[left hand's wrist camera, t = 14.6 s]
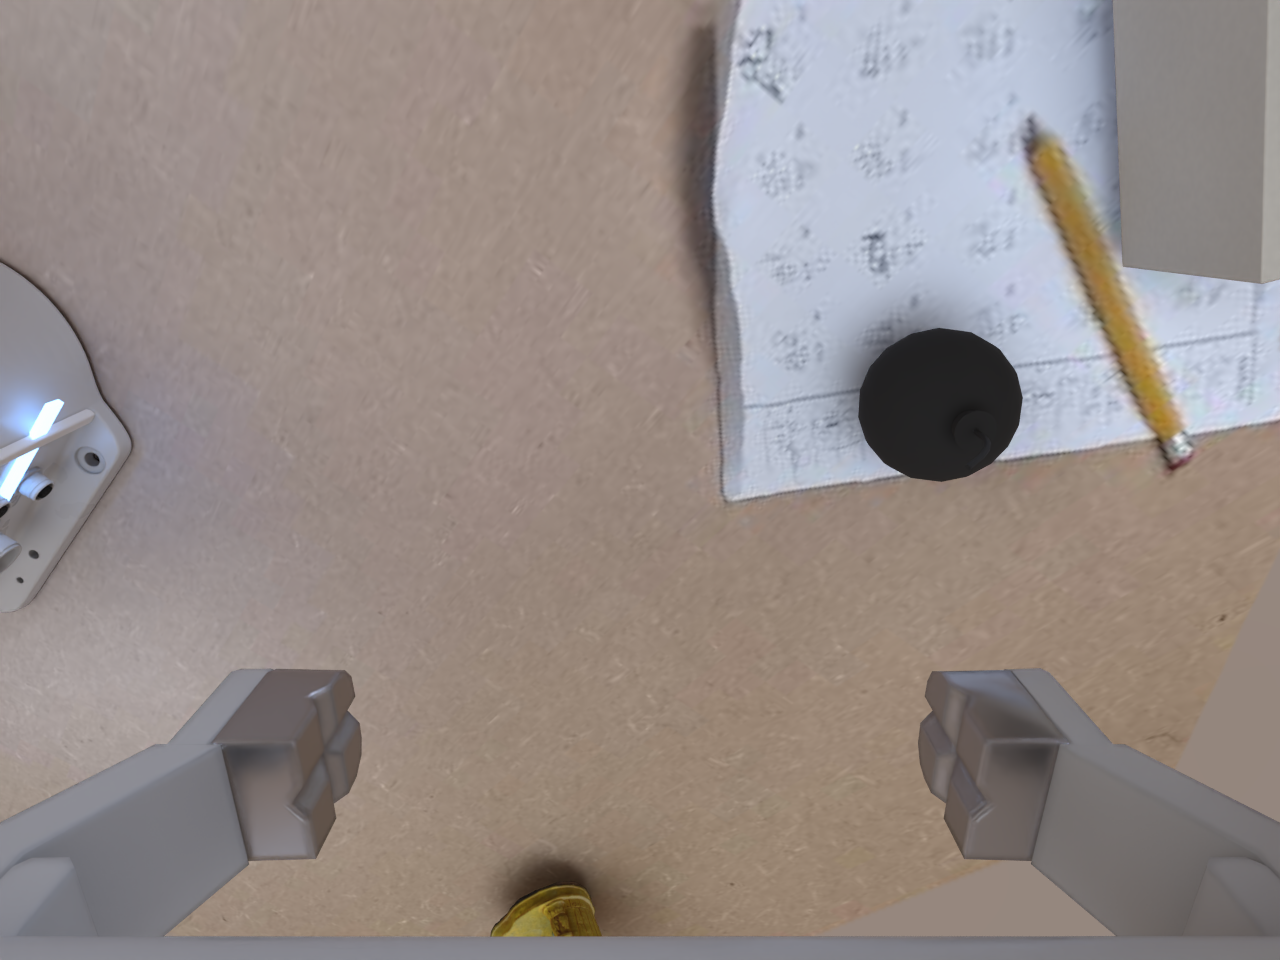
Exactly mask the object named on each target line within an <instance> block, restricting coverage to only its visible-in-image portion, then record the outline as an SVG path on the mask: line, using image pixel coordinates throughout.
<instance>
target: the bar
mask: <svg viewBox="0 0 1280 960" xmlns="http://www.w3.org/2000/svg"><path fill="white" fill-rule="evenodd" d="M1113 25H1114V52H1115V78H1116V105H1117V131H1118V158H1119V184H1120V211H1121V237H1122V264H1123V267H1131V268H1139V269H1147V270H1155V271H1163V272H1171V273H1179V274H1187V275H1195V276H1203V277H1212V278H1220V279H1228V280H1236V281H1244V282H1252V283H1260V284H1263V283H1267V282H1271V281H1275V280H1279V279H1280V0H1113Z"/></svg>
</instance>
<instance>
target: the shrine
mask: <svg viewBox="0 0 1280 960" xmlns="http://www.w3.org/2000/svg"><path fill="white" fill-rule="evenodd" d="M594 913H595V908H594V906H593V905H592V901H591V897H590V895H589V894H588V893H587V891H586V888H584V887H583V886H582V885H580V884H578V883H575V882H574V881H572V882H559V883H555V884H552V885H549V886H547V887H544V888H542V889H539V890H536V891H534V892H532V893H530V894H528V895H526V896H524V897H522V898H520V899H519V900H518V901H517V902H516V903H515V904H514V905H513V906H512V907H511V908H510V910H509V912H508V913H507V914H506V915H505V916H504V917H503V918H502V919H500V921H499V922H498V923H496V924H495V925H494V927H493V929H492V931H491V937H581V936H602V935H601V932H600V930H599V927H598V925H597V923H596V920H595V918H594Z"/></svg>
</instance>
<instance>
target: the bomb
mask: <svg viewBox="0 0 1280 960" xmlns="http://www.w3.org/2000/svg"><path fill="white" fill-rule="evenodd" d="M1022 399H1023V397H1022V393H1021V389H1020V385H1019V380H1018V376H1017V373H1016V371H1015V370H1014V368H1013V367H1012V365H1011V364H1010V363H1009V361H1008V360H1007V359H1006V357H1005V356H1004V355H1003V353H1002V352H1001V351H1000V349H998V348H997V347H996V346H994V345H992V344H991V343H989V342H987V341H985V340H984V339H982V338H980V337H978V336H977V335H975V334H973V333H971V332H964V331H957V330H950V329H943V328H936V329H932V330H927V331H922V332H918V333H913V334H911V335H908V336H907V337H905V338H903V339H902V340H900V341H898V342H897V343H895V344H893V345H892V346H890V347H888V348H887V349H886V350H885V351H884V352H883V353H882V354H881V355H880V356H879V358H878V359H877V360H876V361H875V362H874V363H873V364H872V365H871V367H870V368H869V370H868V373H867V375H866V377H865V380H864V382H863V384H862V387H861V389H860V400H859V416H858V417H859V420H860V424H861V427H862V430H863V433H864V436H865V439H866V441H867V443H868V445H869V446H870V447H871V448H872V449H873V451H874V452H875V453H876V454H877V455H878V456H879V458H880V459H881V460H882V461H883V462H884V463H885V464H886V465H888V466H890V467H891V468H893V469H895V470H897V471H899V472H901V473H903V474H905V475H907V476H909V477H910V478H917V479H924V480H932V481H940V482H942V481H947V480H952V479H957V478H962V477H967V476H969V475H971V474H973V473H975V472H976V471H978V470H980V469H982V468H984V467H986V466H988V465H989V464H991V463H992V462H993V461H994V460H995V459H996V458H997V457H998V456H999V455H1000V454H1001V453H1002V452H1003V451H1004V450H1005V449H1006V448H1007V447H1008V445H1009V443H1010V441H1011V439H1012V438H1013V436H1014V434H1015V432H1016V430H1017V428H1018V426H1019V421H1020V413H1021V406H1022Z"/></svg>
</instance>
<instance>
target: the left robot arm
mask: <svg viewBox="0 0 1280 960" xmlns="http://www.w3.org/2000/svg"><path fill="white" fill-rule="evenodd" d="M131 446H132V445H131V440H130V437H129V435H128V433H127V431H126V430H125V428H124V427H123V425H122V424H121V422H120V421H119V420H118V418H117V417H116V416H115V414H114V413H113V412H112V410H111V409H110V408H109V407H108V406H107V404H106V403H105V402H104V401H103V399H102V397H101V395H100V393H99V390H98V388H97V385H96V383H95V379H94V376H93V373H92V370H91V367H90V364H89V361H88V359H87V356H86V354H85V352H84V350H83V348H82V345H81V344H80V342H79V340H78V338H77V336H76V334H75V333H74V331H73V330H72V328H71V326H70V325H69V324H68V322H67V321H66V319H65V318H64V317H63V315H62V314H61V313H60V312H59V310H58V309H57V308H56V307H55V306H54V305H53V304H52V302H51V301H50V300H49V299H48V298H47V297H46V296H45V295H44V294H43V293H42V292H41V291H40V290H38V289H37V288H36V287H35V286H34V285H33V284H32V283H30V282H29V281H28V280H26V279H25V278H24V277H23V276H21V275H20V274H18V273H17V272H16V271H14V270H13V269H11V268H9V267H8V266H6V265H4V264H3V263H1V262H0V613H6V612H14V611H17V610H19V609H21V608H23V607H25V606H27V605H28V604H29V603H30V602H31V601H32V600H33V599H34V597H35V596H36V594H37V593H38V591H39V590H40V589H41V587H42V586H43V584H44V583H45V581H46V580H47V578H48V577H49V575H50V574H51V572H52V571H53V569H54V568H55V566H56V565H57V563H58V562H59V560H60V558H61V557H62V555H63V554H64V552H65V551H66V549H67V548H68V546H69V545H70V543H71V542H72V540H73V539H74V537H75V536H76V534H77V533H78V531H79V530H80V528H81V527H82V525H83V524H84V522H85V521H86V519H87V518H88V516H89V515H90V513H91V512H92V510H93V509H94V507H95V506H96V504H97V503H98V501H99V500H100V498H101V497H102V495H103V494H104V492H105V491H106V489H107V488H108V486H109V485H110V483H111V482H112V480H113V479H114V477H115V476H116V474H117V473H118V471H119V470H120V468H121V467H122V465H123V464H124V462H125V461H126V459H127V458H128V456H129V454H130V452H131ZM93 453H94V454H96V455H97V456H98V457H99V459H100V462H98V461H97V460H96V459H95V458H94V456H93ZM354 698H355V692H354V687H353V682H352V677H351V676H350V675H349V674H348V673H347V672H346V671H345V670H304V669H275V670H273V669H239V670H236V671H233V672H231V673H230V674H229V675H228V676H227V677H226V678H225V679H224V681H223V682H222V683H221V684H220V685H219V686H218V687H217V688H216V690H215V691H214V692H213V693H212V694H211V695H210V696H209V697H208V699H207V700H206V701H205V702H204V703H203V704H202V705H201V707H200V708H199V709H198V710H197V711H196V712H195V713H194V714H193V716H192V717H191V718H190V719H189V720H188V721H187V722H186V723H185V725H184V726H183V727H182V728H181V729H180V730H179V731H178V732H177V734H176V735H175V736H174V737H173V738H172V739H171V740H170V741H169V743H168V744H155V745H153V746H151V747H149V748H147V749H145V750H143V751H141V752H139V753H137V754H135V755H133V756H131V757H129V758H127V759H125V760H123V761H121V762H119V763H117V764H115V765H113V766H111V767H109V768H107V769H105V770H103V771H101V772H99V773H97V774H95V775H93V776H91V777H89V778H87V779H85V780H83V781H82V782H80V783H78V784H76V785H74V786H72V787H70V788H68V789H66V790H64V791H62V792H60V793H58V794H56V795H54V796H52V797H50V798H48V799H46V800H44V801H42V802H40V803H38V804H36V805H34V806H32V807H30V808H28V809H26V810H24V811H22V812H20V813H18V814H16V815H14V816H12V817H10V818H8V819H6V820H4V821H2V822H0V960H1280V823H1279V822H1277V821H1275V820H1274V819H1272V818H1270V817H1268V816H1266V815H1264V814H1262V813H1260V812H1258V811H1256V810H1254V809H1252V808H1250V807H1248V806H1246V805H1244V804H1242V803H1240V802H1238V801H1236V800H1234V799H1232V798H1230V797H1228V796H1226V795H1224V794H1222V793H1220V792H1218V791H1216V790H1214V789H1212V788H1210V787H1208V786H1206V785H1204V784H1202V783H1200V782H1198V781H1196V780H1194V779H1192V778H1190V777H1188V776H1186V775H1184V774H1182V773H1180V772H1178V771H1177V770H1175V769H1173V768H1171V767H1169V766H1167V765H1165V764H1163V763H1161V762H1159V761H1157V760H1155V759H1153V758H1151V757H1149V756H1147V755H1145V754H1143V753H1141V752H1139V751H1137V750H1135V749H1133V748H1131V747H1129V746H1127V745H1125V744H1112V743H1111V741H1110V740H1109V739H1108V738H1107V737H1106V736H1105V735H1104V734H1103V732H1102V731H1101V730H1100V729H1099V728H1098V727H1097V726H1096V725H1095V723H1094V722H1093V721H1092V720H1091V719H1090V718H1089V717H1088V716H1087V714H1086V713H1085V712H1084V711H1083V710H1082V709H1081V708H1080V707H1079V705H1078V704H1077V703H1076V702H1075V701H1074V700H1073V699H1072V698H1071V696H1070V695H1069V694H1068V693H1067V692H1066V691H1065V690H1064V688H1063V687H1062V686H1061V685H1060V684H1059V683H1058V682H1057V681H1056V679H1055V678H1054V677H1053V676H1052V675H1051V674H1050V673H1049V672H1047V671H1045V670H1043V669H1041V668H1033V669H1004V670H986V671H932V673H931V675H930V677H929V679H928V681H927V686H926V692H925V698H926V699H927V701H928V703H929V705H930V706H931V708H932V710H933V711H932V712H931V713H930V714H929V715H928V716H927V717H926V718H925V719H924V720H923V721H922V722H921V723H920V731H919V740H918V748H919V759H920V765H921V769H922V772H923V776H924V779H925V781H926V783H927V785H928V787H929V789H930V792H931V793H932V794H934V795H935V796H936V797H938V798H939V799H941V800H942V801H943V802H945V803H946V808H945V814H944V820H945V822H946V824H947V826H948V828H949V830H950V832H951V834H952V836H953V838H954V840H955V842H956V844H957V846H958V848H959V849H960V851H961V853H962V855H963V857H964V859H983V860H1020V861H1032V862H1031V864H1032V865H1033V866H1034V867H1035V868H1036V869H1038V870H1039V871H1040V872H1041V873H1042V874H1043V875H1045V876H1046V877H1047V878H1048V879H1049V880H1051V881H1052V882H1053V883H1054V884H1055V885H1056V886H1058V887H1059V888H1060V889H1061V890H1062V891H1064V892H1065V893H1066V894H1067V895H1068V896H1070V897H1071V898H1072V899H1073V900H1074V901H1075V902H1077V903H1078V904H1079V905H1080V906H1081V907H1082V908H1084V909H1085V910H1086V911H1087V912H1088V913H1090V914H1091V915H1092V916H1093V917H1094V918H1095V919H1097V920H1098V921H1099V922H1100V923H1101V924H1103V925H1104V926H1105V927H1106V928H1107V929H1108V930H1110V931H1111V932H1112V933H1113V934H1114V935H1116V936H1064V937H1063V936H1062V937H998V936H997V937H993V936H992V937H990V936H987V937H985V936H984V937H983V936H979V937H978V936H581V937H269V936H165V935H166V934H167V933H168V932H169V931H171V930H172V929H173V928H174V927H175V926H176V925H178V924H179V923H180V922H181V921H182V920H184V919H185V918H186V917H187V916H188V915H190V914H191V913H192V912H193V911H194V910H195V909H197V908H198V907H199V906H200V905H201V904H203V903H204V902H205V901H206V900H207V899H208V898H210V897H211V896H212V895H213V894H214V893H216V892H217V891H218V890H219V889H220V888H222V887H223V886H224V885H225V884H226V883H227V882H229V881H230V880H231V879H232V878H233V877H235V876H236V875H237V874H238V873H239V872H240V871H242V870H243V869H244V868H245V867H246V866H248V865H249V862H248V861H261V860H295V859H316V858H317V856H318V854H319V852H320V850H321V848H322V846H323V844H324V842H325V840H326V838H327V836H328V834H329V832H330V830H331V828H332V826H333V824H334V822H335V820H336V814H335V808H334V803H335V802H337V801H338V800H339V799H341V798H342V797H344V796H345V795H346V794H348V793H349V792H350V789H351V787H352V785H353V783H354V781H355V779H356V777H357V772H358V768H359V763H360V759H361V746H362V737H361V730H360V723H359V722H358V721H357V720H356V719H355V718H354V717H353V716H352V715H351V714H350V713H349V712H348V711H347V710H348V708H349V706H350V705H351V703H352V701H353V699H354Z"/></svg>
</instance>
